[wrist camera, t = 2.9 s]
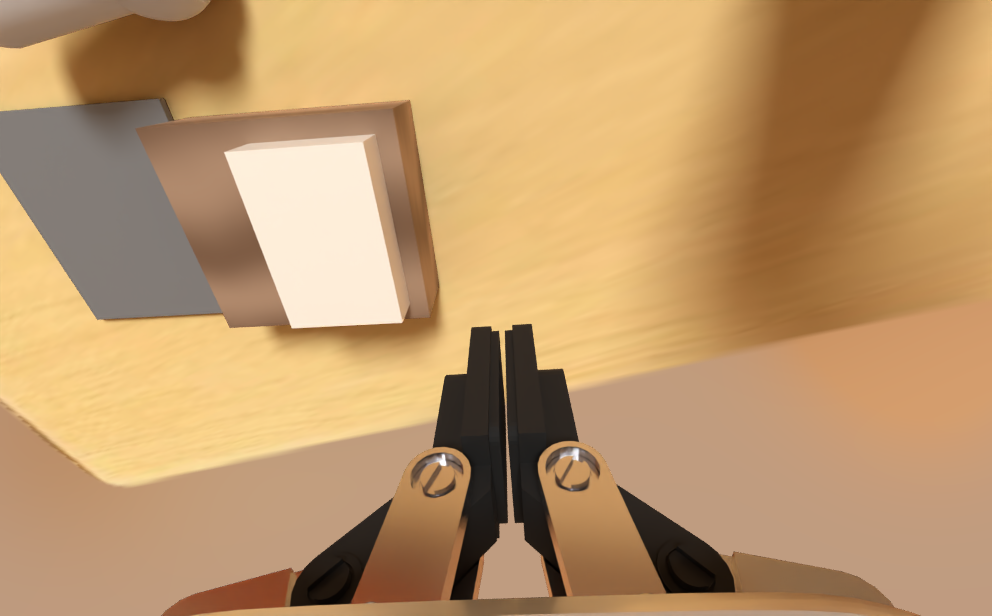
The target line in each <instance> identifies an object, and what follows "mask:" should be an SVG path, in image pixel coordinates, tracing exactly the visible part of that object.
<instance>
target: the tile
mask: <svg viewBox="0 0 992 616" xmlns="http://www.w3.org/2000/svg"><path fill="white" fill-rule="evenodd" d="M224 153H225V156H226V159H227V161H228V164H229V166H230V169H231V172H232V174H233V177H234V179H235V182H236V185H237V187H238V190H239V192H240V195H241V198H242V200H243V203H244V205H245V208H246V211H247V213H248V216H249V218H250V221H251V224H252V226H253V229H254V231H255V234H256V237H257V239H258V242H259V244H260V247H261V250H262V252H263V255H264V257H265V260H266V263H267V265H268V268H269V270H270V273H271V276H272V278H273V281H274V283H275V286H276V289H277V291H278V294H279V296H280V299H281V302H282V304H283V307H284V309H285V312H286V315H287V317H288V320H289V322H290V325H291V328H310V327H330V326H349V325H369V324H388V323H403V321H404V318H405V315H406V313H407V310H408V307H409V305H410V301H409V296H408V291H407V286H406V282H405V277H404V272H403V267H402V262H401V257H400V252H399V247H398V242H397V237H396V233H395V228H394V223H393V218H392V213H391V208H390V203H389V198H388V193H387V189H386V184H385V179H384V174H383V169H382V164H381V159H380V154H379V149H378V144H377V140H376V135H375V134H371V135H358V136H344V137H331V138H317V139H304V140H291V141H277V142H264V143H250V144H246V145H243V146H240V147H237V148H235V149H232V150H229V151H226V152H224Z"/></svg>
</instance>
